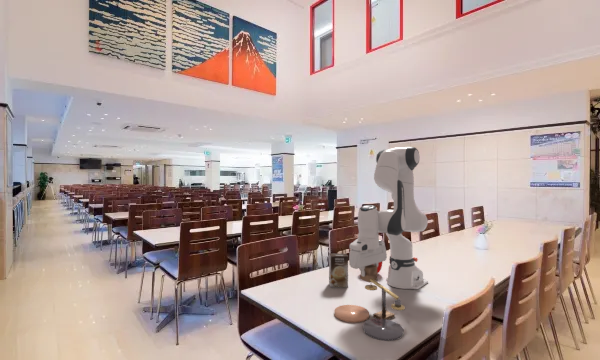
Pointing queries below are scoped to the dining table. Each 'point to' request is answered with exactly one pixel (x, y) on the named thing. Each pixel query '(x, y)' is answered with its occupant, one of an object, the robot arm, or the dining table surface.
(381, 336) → the charcoal dish
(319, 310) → the dining table surface
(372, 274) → the walnut block
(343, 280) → the coffee box
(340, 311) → the terracotta dish
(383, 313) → the balance
